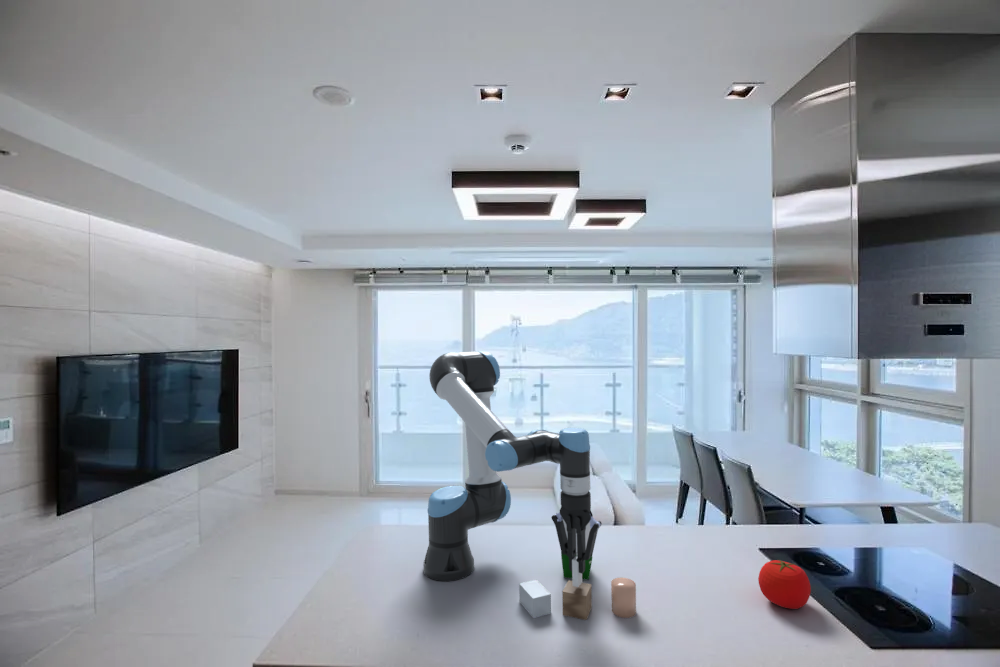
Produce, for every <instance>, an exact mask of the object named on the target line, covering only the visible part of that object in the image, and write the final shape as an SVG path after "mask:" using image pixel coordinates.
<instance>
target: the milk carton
mask: <svg viewBox="0 0 1000 667" xmlns="http://www.w3.org/2000/svg"><path fill="white" fill-rule="evenodd" d="M563 523H564V527H565V531H566V535H567V540H568V533H567V526H566V523H565V521H564V520H563ZM590 530H591V528H590V522H589V523H588V524H587V526H586V530H585V545H586V546H587V541H588V537H589V532H590ZM576 553H577V533H576ZM560 555H561V556H560V557H561V558H560V559H561V565H562V574H563V578H566V579H572V571H570V569H569V558H568V556H567V555H563V554H562V552H561V551H560ZM576 556H577V554H576V555H575V557H576ZM592 562H593V555H592V556H591V557H590V558H589V559H588V560H585V571H584V572H583V573H582V580H587V581H589V580H590V575H591V567H592Z"/></svg>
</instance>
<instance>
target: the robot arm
mask: <svg viewBox="0 0 1000 667" xmlns="http://www.w3.org/2000/svg"><path fill="white" fill-rule="evenodd" d="M500 370H501V369H500V365H499V362H498V360H497V359H496V357H495V356H494V355H493V354H492V353H490V352H488V351H483V350H474V351H461V352H460V351H459V352H447V353H444V354H442V355H440V356H439V357H437V358H436V359H435V360H434V362H433V363H432V365H431V367H430V369H429V382H430V385H431V389H432V390H433V392H434V393H435V395H437V397H438V398H439V399H441V400H445V401H446V402H447V403H448V404H449V405H450V407H451V408H452V409H453V410H454V411H455V412H456V414H457V415H458V416H459V417H460V419H461V420H462V421H463V422H464V426H465V438H466V452H467V463H468V464H467V465H468V477H466V479H465V481H464V486H465V487H464V486H462V485H452V486H450V485H447V486H444V487H441V488H439V489H436V490H435V491H433V492H432V493H431V494H430V496H429V497H428V504H427V505H428V506H427V507H428V508H427V514H428V515H427V516H428V519H427V520H428V547H427V550H426V553H425V557H424V559H423V567H422V568H423V574H424V573H425V574H424V575H425V576H426V577H427V576H428V577H427V578H429V579H431V580H434V581H441V582H450V581H451V582H452V581H456V580H461V579H463V578H466V577H468V576H469V575H471V574H472V573H473V571H474V569H475V560H474V559H475V558H474V556H473V554H472V551H471V547H470V544H469V538H468V537H469V536H468V535H469V533H468V532H469V530H470V529H475V528H477V527H480V526H484V525H487V524H490V523H495V522H497V521H499V520H502V519H504V518H505V517H506V516H507V514H508V513H509V511H510V509H511V504H512V497H511V492H510V489H509V487H508V485H507V483H505V482H504V481H502V476H500V475H499V474H498V473H497V472H505V471H512V470H515V469H518V468H523V467H527V466H531V465H535V464H539V463H543V462H550V463H555V464H558V465H559V473H560V474H559V476H560V478H559V479H560V482H559V484H560V490H561V491H560V505H561V506H560V509H559V512H556V513H554V514H552V516H551V520H552V522H553V524H554V526H555V529H556V534H557V538H558V539H557V540H558V543H559V548H560V553H561V552H562V554H563V555H567V556H568V558H569V569H570V571H572V578H571V581H572V583H573V586H575V587H579V586H580V585H581V583H583V579H582V573H583V572H584V571H585V560H588V559H589V558H590V557H591V556H592V557H593V553H594V548H595V544H596V540H597V535H598V531H599V529H600V527H601V526H602V525H603V524H602V521H601V520H597V519H595V518H594V517H593V515H594V514H593V512H592V509H591V508H592V507H591V506H592V501H591V500H592V498H591V492H590V491H591V489H592V488H591V470H590V468H591V465H590V464H591V462H590V461H591V459H590V457H591V453H590V452H591V451H590V450H591V445H590V436H589V432H588V430H586V429H585V428H581V427H567V428H566V427H565V428H562V429H560V430H559V431H558V432H559V433H556V432H552V431H549V430H546V429H532V430H531V431H530V432H529V433H528V434H525V435H522V436H521V435H520V436H515V435H514V433H513V432H511V431H510V430H509V429H508V427H507V426H506V425H504V423H503V422H502V421H501V420H500V419H499V418H498V416H497V415H496V414H495V413H494V412H493V411H492V408H491V407H492V406H491V397H492V396H493V395H494V394H493V393H495V389H494V388H495V385H497V384H498V382H499V381H500V380H499V379H500V377H501V371H500ZM563 520H564V521H565V523H566V526H567V533H568V540H567V535H566V531H565V527H564V523H563ZM589 522H590V528H591V530H590V532H589V537H588V541H587V546H586V545H585V530H586V526H587V524H588V523H589ZM576 533H577V553H576ZM576 554H577V556H576V557H575V555H576Z"/></svg>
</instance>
